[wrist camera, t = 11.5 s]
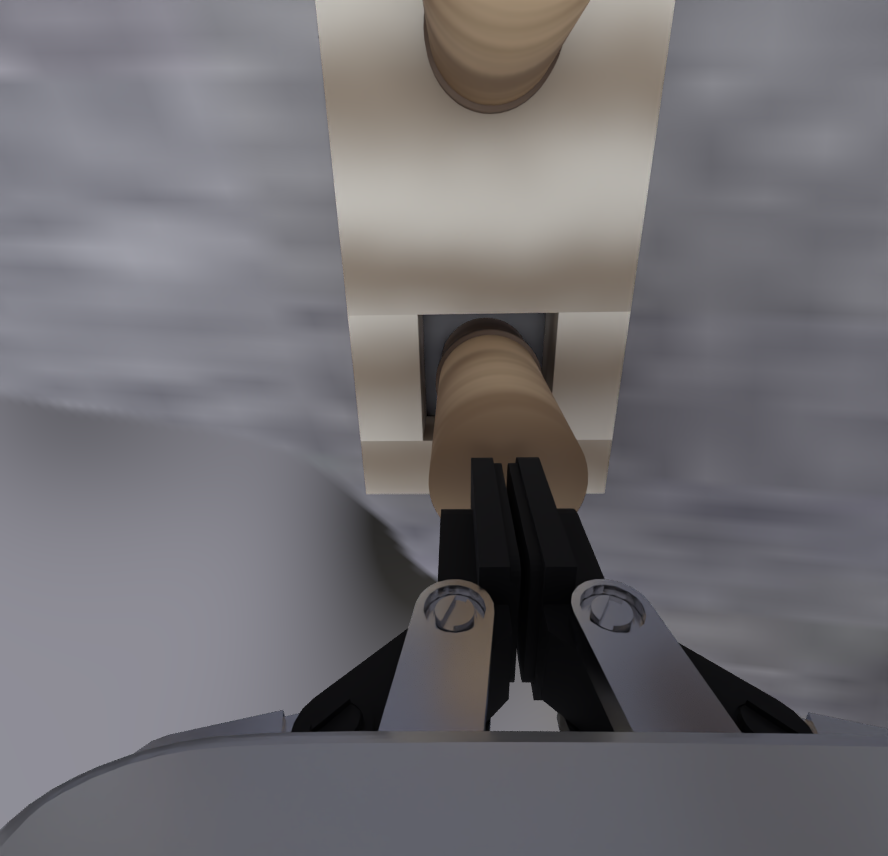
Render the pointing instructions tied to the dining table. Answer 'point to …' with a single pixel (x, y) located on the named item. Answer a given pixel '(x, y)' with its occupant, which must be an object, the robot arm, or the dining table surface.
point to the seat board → (489, 195)
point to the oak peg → (498, 416)
